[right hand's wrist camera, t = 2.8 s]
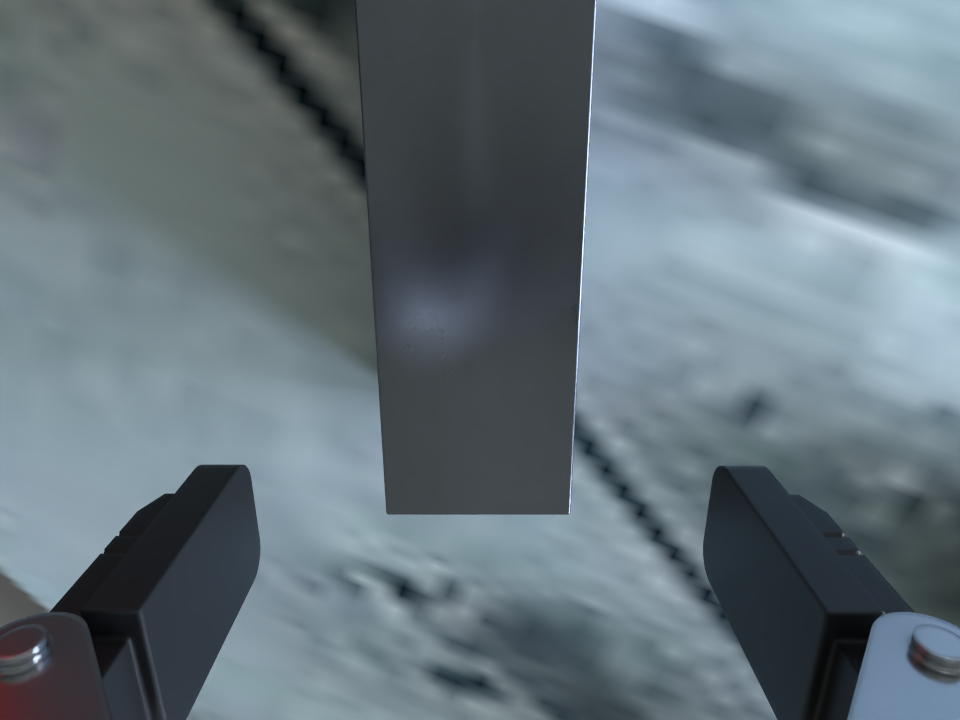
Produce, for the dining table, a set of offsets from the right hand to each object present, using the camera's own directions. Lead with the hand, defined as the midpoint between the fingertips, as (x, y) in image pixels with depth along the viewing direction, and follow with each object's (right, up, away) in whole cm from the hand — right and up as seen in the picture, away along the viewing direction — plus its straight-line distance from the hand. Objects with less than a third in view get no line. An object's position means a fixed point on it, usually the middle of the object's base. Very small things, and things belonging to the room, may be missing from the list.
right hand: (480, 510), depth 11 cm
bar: (0, +13, +11) cm, 17 cm away
